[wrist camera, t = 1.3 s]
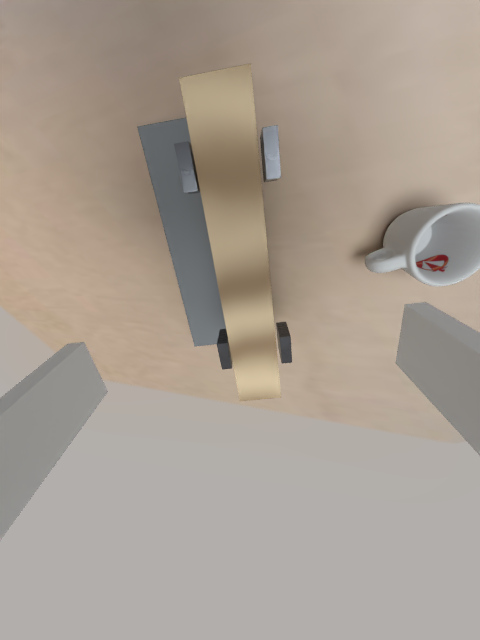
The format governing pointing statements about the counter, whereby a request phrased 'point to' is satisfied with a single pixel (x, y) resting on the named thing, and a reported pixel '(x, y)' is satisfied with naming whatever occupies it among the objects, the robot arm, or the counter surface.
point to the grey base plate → (184, 230)
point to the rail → (235, 219)
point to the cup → (432, 244)
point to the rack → (270, 174)
